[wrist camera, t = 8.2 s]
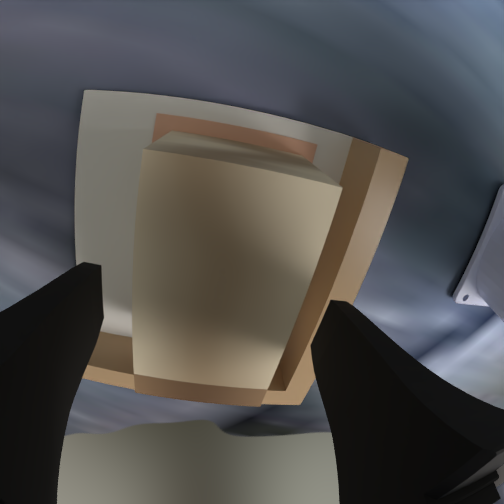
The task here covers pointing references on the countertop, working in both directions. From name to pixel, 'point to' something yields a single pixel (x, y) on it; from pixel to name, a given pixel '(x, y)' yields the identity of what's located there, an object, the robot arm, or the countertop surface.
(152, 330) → the maple block
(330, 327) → the robot arm
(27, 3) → the countertop surface
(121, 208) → the arena
